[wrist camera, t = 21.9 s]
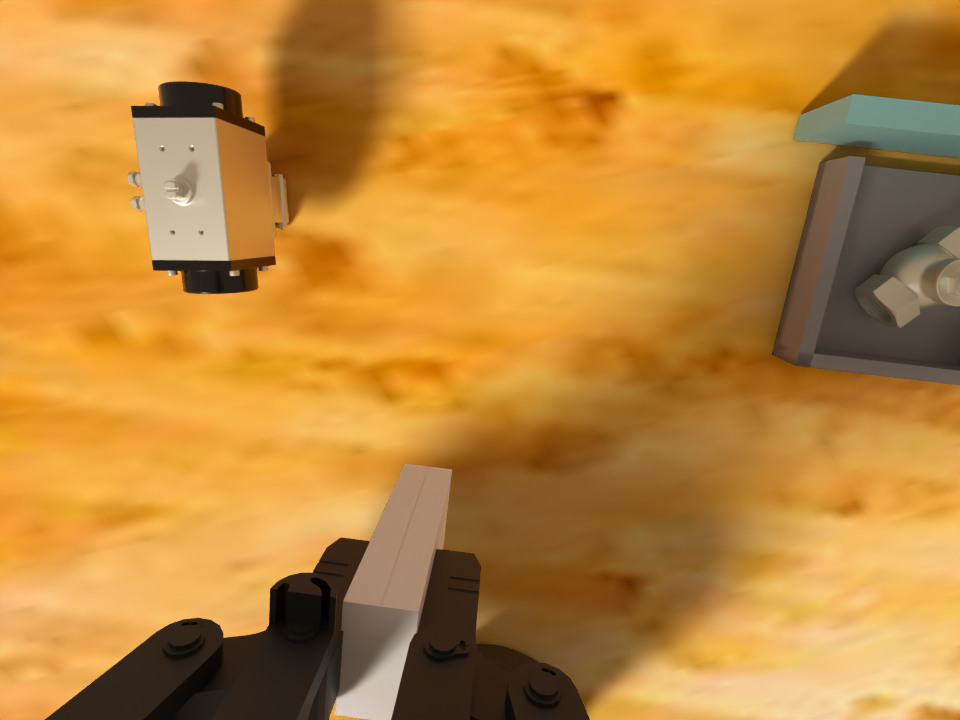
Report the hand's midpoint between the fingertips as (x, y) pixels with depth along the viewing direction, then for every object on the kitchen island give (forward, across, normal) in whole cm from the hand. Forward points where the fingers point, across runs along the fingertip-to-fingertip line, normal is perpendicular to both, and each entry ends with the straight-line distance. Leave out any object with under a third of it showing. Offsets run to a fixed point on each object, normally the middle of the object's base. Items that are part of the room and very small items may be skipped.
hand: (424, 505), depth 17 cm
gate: (+26, -28, -18) cm, 42 cm away
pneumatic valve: (+26, +17, -9) cm, 33 cm away
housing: (+26, -31, -11) cm, 42 cm away
